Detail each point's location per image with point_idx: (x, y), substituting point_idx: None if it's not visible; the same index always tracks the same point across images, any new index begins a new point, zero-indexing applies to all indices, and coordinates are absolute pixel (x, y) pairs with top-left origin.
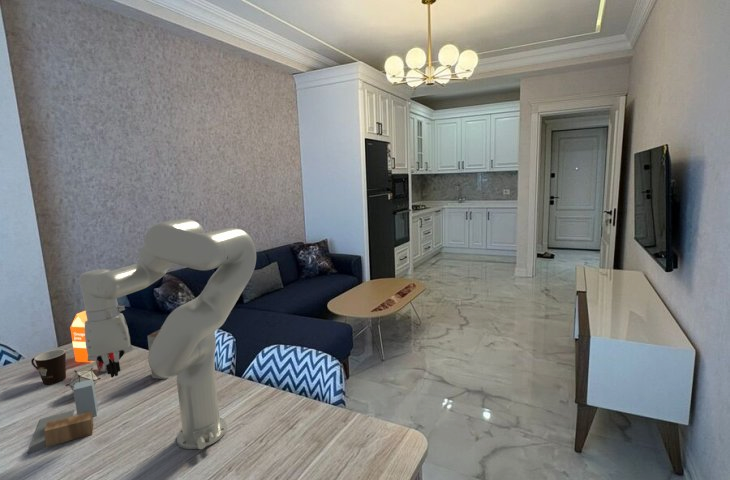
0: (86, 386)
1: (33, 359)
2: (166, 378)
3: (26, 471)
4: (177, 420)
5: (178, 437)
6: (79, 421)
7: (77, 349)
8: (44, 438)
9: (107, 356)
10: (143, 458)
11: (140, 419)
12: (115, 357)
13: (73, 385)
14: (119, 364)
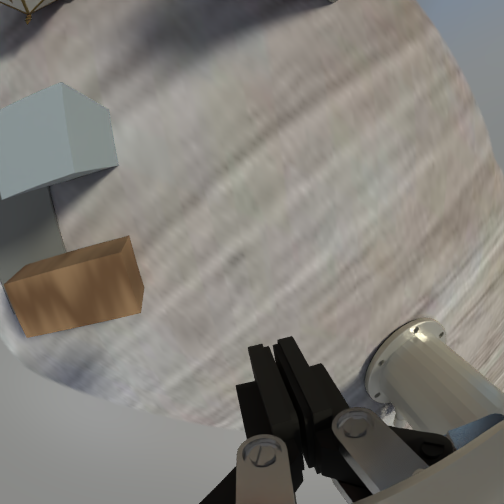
0: (50, 179)
1: None
2: (333, 2)
3: (58, 379)
4: (375, 297)
5: (371, 380)
6: (105, 314)
7: None
8: (15, 260)
9: (284, 492)
10: None
11: (281, 254)
12: (356, 496)
13: (7, 1)
14: (335, 387)
